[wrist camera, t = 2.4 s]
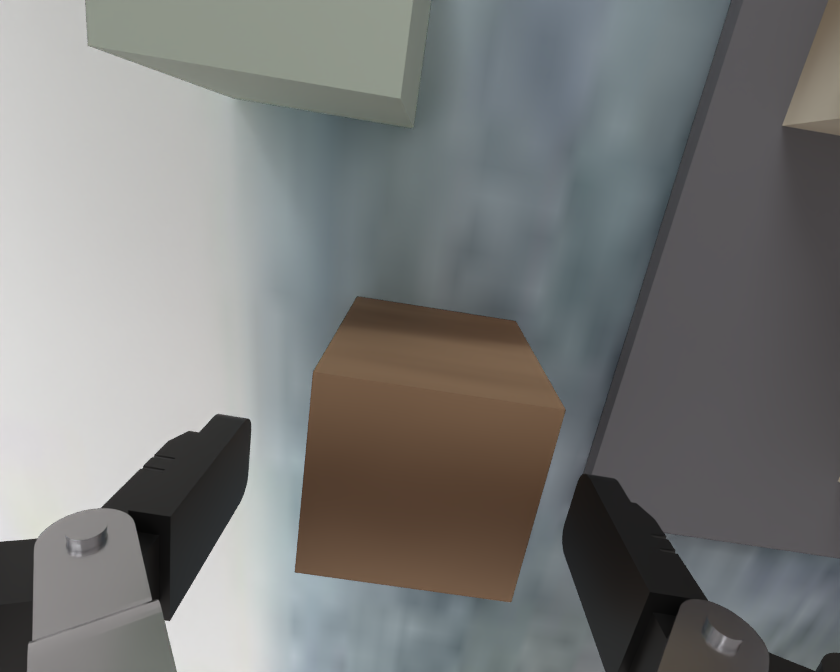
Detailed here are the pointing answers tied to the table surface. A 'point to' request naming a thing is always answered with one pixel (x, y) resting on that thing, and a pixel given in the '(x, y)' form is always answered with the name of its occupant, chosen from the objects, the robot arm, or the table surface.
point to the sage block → (278, 50)
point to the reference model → (820, 80)
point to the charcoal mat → (740, 313)
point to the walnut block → (425, 451)
